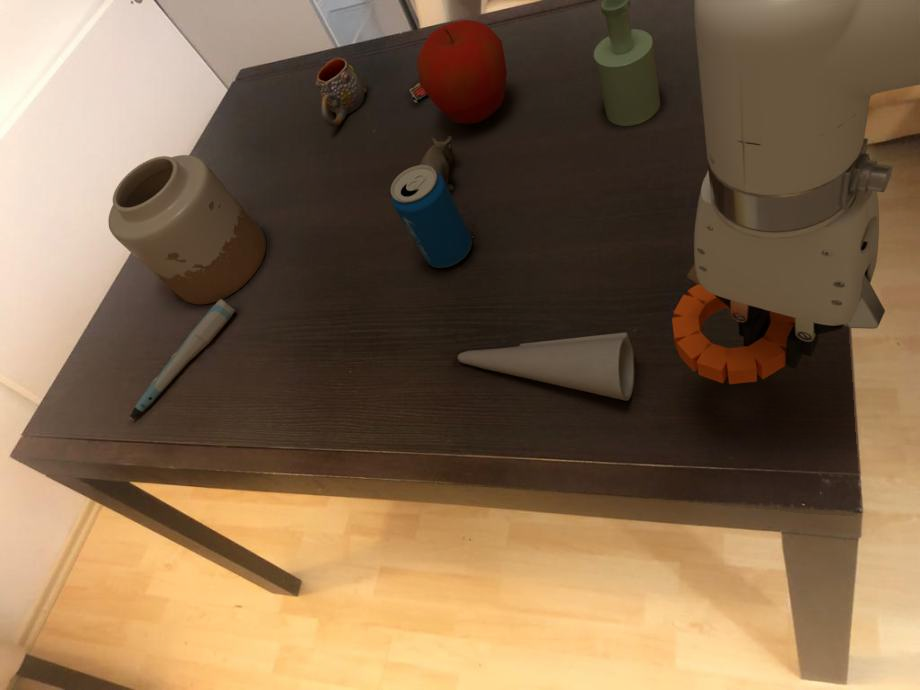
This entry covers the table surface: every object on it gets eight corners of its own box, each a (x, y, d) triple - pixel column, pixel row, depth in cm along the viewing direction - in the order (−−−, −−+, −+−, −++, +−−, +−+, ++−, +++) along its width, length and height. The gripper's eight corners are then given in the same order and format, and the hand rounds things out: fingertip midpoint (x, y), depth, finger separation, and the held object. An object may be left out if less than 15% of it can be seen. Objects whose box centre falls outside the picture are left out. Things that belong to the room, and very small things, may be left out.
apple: (464, 156, 95) (427, 71, 84) (427, 120, 103) (389, 38, 92) (536, 107, 96) (508, 16, 85) (494, 75, 103) (464, -12, 92)
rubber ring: (656, 360, 55) (652, 347, 53) (703, 275, 57) (702, 261, 56) (770, 400, 50) (770, 387, 48) (816, 305, 52) (818, 289, 51)
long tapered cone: (432, 382, 70) (615, 376, 61) (449, 335, 74) (624, 323, 65) (455, 414, 74) (629, 412, 65) (470, 367, 78) (637, 360, 69)
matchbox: (443, 84, 106) (442, 82, 106) (419, 104, 106) (418, 102, 105) (427, 76, 109) (426, 74, 109) (403, 96, 108) (402, 93, 108)
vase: (186, 242, 107) (108, 163, 94) (271, 213, 103) (203, 126, 90) (169, 317, 98) (81, 241, 85) (262, 288, 94) (184, 204, 81)
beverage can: (416, 260, 87) (376, 193, 78) (449, 225, 89) (413, 156, 79) (450, 278, 83) (412, 211, 74) (484, 242, 85) (451, 171, 75)
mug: (338, 92, 116) (319, 58, 111) (373, 86, 113) (355, 51, 108) (316, 140, 110) (295, 107, 105) (352, 135, 107) (332, 101, 102)
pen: (227, 306, 95) (214, 294, 93) (240, 314, 93) (227, 301, 91) (129, 417, 89) (113, 407, 87) (141, 427, 87) (125, 417, 85)
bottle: (652, 83, 90) (637, -26, 79) (666, 114, 86) (653, 5, 75) (600, 101, 92) (578, -3, 80) (612, 133, 88) (591, 28, 76)
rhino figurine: (471, 152, 95) (457, 118, 91) (439, 226, 89) (422, 194, 84) (445, 153, 97) (430, 120, 92) (412, 226, 91) (394, 194, 86)
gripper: (976, 142, 34) (915, 339, 48) (673, 106, 43) (697, 281, 57) (927, 255, 32) (877, 426, 46) (618, 192, 41) (657, 351, 55)
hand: (777, 344), depth 52 cm, fingers closed on rubber ring, 2 cm apart
